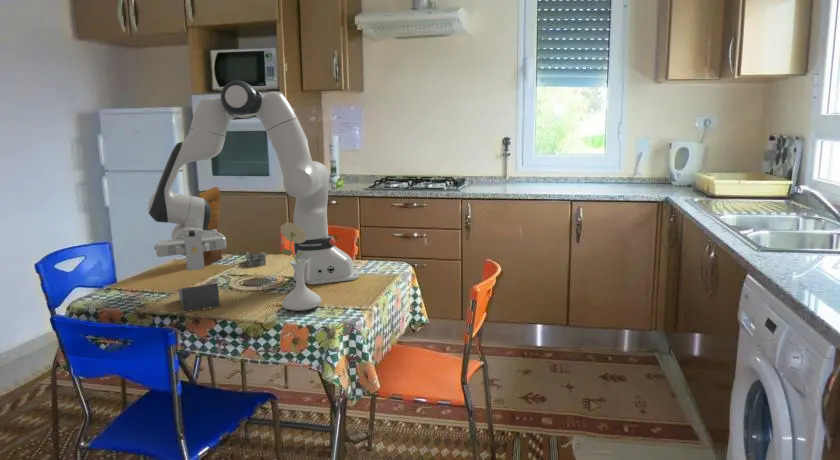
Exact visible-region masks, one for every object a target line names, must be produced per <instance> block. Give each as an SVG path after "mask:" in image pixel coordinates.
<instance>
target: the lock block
mask: <svg viewBox="0 0 840 460" xmlns="http://www.w3.org/2000/svg"><path fill="white" fill-rule="evenodd" d="M183 238H184V247H185V249H186V254H185V256H184V257H185V265H186V268H187V271H188V272H192V271H197V270H205V267H206V266H204V256H203V246H202V236H201V234H200V233H195V231H194V230H193V231H189V234H183Z"/></svg>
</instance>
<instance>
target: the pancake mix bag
mask: <svg viewBox="0 0 840 460" xmlns="http://www.w3.org/2000/svg"><path fill="white" fill-rule="evenodd" d="M198 197H199V198H204V199H205V200H206V201H207V202H208V204H209V206H210V210H211V215H210V222H209V225H208V228H207V229H216V230H217V232H218V233H220V230H219V225H220V223H219V222H220V217H221V212H220V211H221V209H220V206H221V205H220V204H221V193H220V189H219V188H218V186H215V187H212V188H209V189H207V190H205V191H202V192H199V193H198ZM203 256H204V266H205V267H208V266H209V265H212V264H214V263H216V262H217V261H220V260H223V254H222V249H220V250H212V251H207V252H203Z"/></svg>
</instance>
